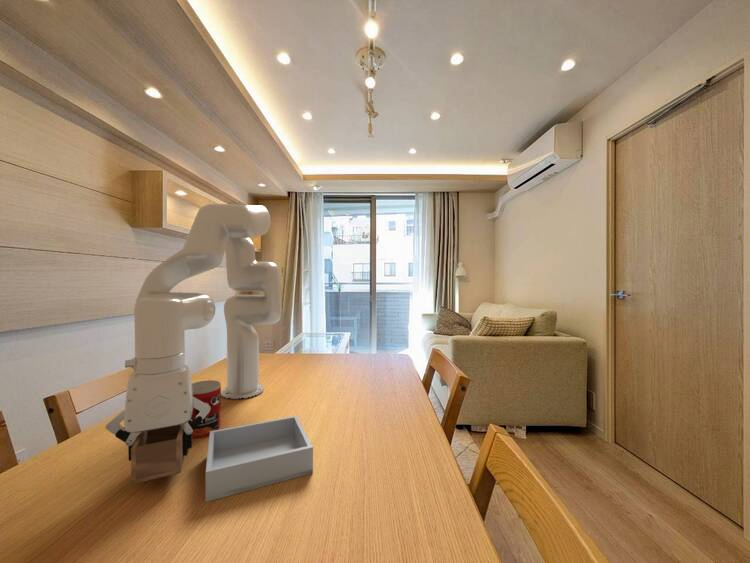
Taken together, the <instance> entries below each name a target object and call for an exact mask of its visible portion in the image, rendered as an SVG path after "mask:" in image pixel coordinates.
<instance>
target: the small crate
mask: <svg viewBox="0 0 750 563" xmlns="http://www.w3.org/2000/svg"><path fill="white" fill-rule="evenodd" d="M183 434H184V430H183V429H182V427H181V426H180V425H177V426H172V427H167V428H161V429H155V430H150V431H144V432H139V434H138V437H137V439H136V441H135V443H134V444H133V446H132V448H131V461H130V463H131V464H130V465H131V468H130V471H131V474H130V476H131V485H135V484H139V483H142V482H147V481H151V480H156V479H161V478H164V477H168V476H172V475H177V474H181V472H182V468H183V463H184V460H185V456H184V455H183Z"/></svg>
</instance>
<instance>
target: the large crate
mask: <svg viewBox="0 0 750 563" xmlns="http://www.w3.org/2000/svg"><path fill="white" fill-rule="evenodd" d="M207 446H208V447H207V448H208V449H207V456H206V465H205V503H207V502H211V501H214V500H218V499H221V498H226V497H229V496H233V495H237V494H241V493H244V492H247V491H248V492H249V491H252V490H256V489H260V488H263V487H266V486H271V485H274V484H277V483H281V482H285V481H286V482H287V481H288V480H293V479H296V478H301V477H304V476H307V475H311V474H313V473H314V446H313V445H312V443H311V440H310V439H309V437H308V435H307V433H306V431H305V428H304V427H303V425H302V423H301V421H300V419H299V417H298V415H293V416H287V417H281V418H277V419H276V418H275V419H271V420H266V421H265V420H264V421H260V422H253V423H248V424H243V425H236V426H232V427H227V428H221V429H220V428H219V429H218V430H215V431H210V435H209V437H208V445H207Z"/></svg>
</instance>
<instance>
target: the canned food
mask: <svg viewBox="0 0 750 563" xmlns="http://www.w3.org/2000/svg"><path fill="white" fill-rule="evenodd" d="M192 389H193V397H195V398H197V399H198V400H200V401H202V402H204V403H205V404H207V405H209V406H210V412H209V413H208V414H207V415H206V417H205V418H204V419H203V420H202V422H201V423H200V424H199V425H198V426H197V427H196V428H195V429H194V430H193V432H192V439H199V438H200V439H201V438H206V437H208V436H210V431H215V430H220V428H221V421H222V420H221V413H222V411H221V408H222V405H221V404H222V403H221V402H222V398H221V397H222V395H221V392H222V384H221V382H220V381H218V380H213V379H212V380H209V379H208V380H201V381H196V382H194V383H193V382H192ZM199 412H200V411H199V410H197V409H195V408H194V407H193V411H192V417H191V420H193V419H194V418H195V417H196V416H197V415H198V414H199Z"/></svg>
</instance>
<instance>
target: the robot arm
mask: <svg viewBox="0 0 750 563" xmlns="http://www.w3.org/2000/svg"><path fill="white" fill-rule="evenodd" d="M271 219H272V218H271V215H270V212H269V210H268V209H267V208H266V206H264V205H258V204H257V205H256V204H235V203H233V204H231V203H230V204H229V203H210V204H209V203H208V204H205V205H203V206H201V207H200V208H199V209H198V211H197V212H196V216H195V217H194V219H193V223H192V225H191V228H190V230H189V232H188V235H187V237H186V239H185V243H184V245H183V246H182V249H180V250H179V251H177V252H175V253H174V254H172V255H171V256H170V257H168V258H166V259H165V260H164V261H162V262H161V263H160V264H158V265H157V266H156V267H155V268H153V269H152V270H151V271H150V272H149V274H148V275H147V276H146V278H145V279H144V282H143V284H142V286H141V288H140V290H139V292H138V294H137V297H136V299H135V304H134V307H133V314H134V315H133V317H134V357H133V358H131V359H127V360H125V362H124V368H125V369H126V368H127V369H128V368H130V369H132V370H133V372H132V373H131V374H130V375H129V377H128V381H127V384H126V385H127V386H126V394H125V401H124V402H125V403H124V405H125V406H124V409H122V410H121V411H120V412H119V413H118V414H117V415H115V416H114V417H113V418H112V419H111V420H109V421H108V422H107V424H106V425H105V428H104V429H105V430H107V431H108V432H110V433H111V434H113V435H115V437H116V439H118V440H120V441H122V442H124V443H125V444H124V445H126V446H127V447H128V448H127V449H128V453H127V454H128V461H129V462H131V448H132V446H133V444H134V443H135V441H136V439H137V437H138V435H139V433H140V432H144V431H150V430H155V429H161V428H167V427H172V426H177V425H180V426H181V427H182V429H183V430H184V434H183V455H184V457H186V456H187V457H188V454H189V449H192V448H193V438H192V432H193V430H194V429H195V428H196V427H197V426H198V425H199V424H200V423H201V422H202V420H203V419H204V418H205V417H206V415H207V414H208V413H209V412H210V406H209V405H207V404H205V403H204V402H202V401H200V400H198V399H197V398H195V397H193V389H192V384H193V382H192V376H191V371H190V368H189V365H186V363H185V361H186V360H185V357H186V354H185V331H186V330H189V331H190V330H198V329H201V328H203V327H206V326H207V325H208V324H210V323H211V322H212V321H213V319H214V318H215V315H216V304H215V302H214V300H213V299H212V298H211V297H210V296H209V295H207V294H205V293H200V292H183V291H182V292H181V291H180V292H175V291H174V292H173V291H172V290H173V288H174V287H176V286H177V285H178V284H180V283H182V282H183V281H185V280H187V279H189V278H192V277H195V276H197V275H201V274H203V273H205V272H209V271H210V270H214V269H216V268H217V267H219V266H220V265H221V264H222V262H223V259H224V256H225V265H226V266H225V267H226V268H225V269H226V278H227V285H228V287H229V288H230V289H231V290H233V291H235V292H236V291H237V292H263V294H237V295H232V296H230V297H228V298H227V299H226V300H225V302H224V304H223V314H224V320H225V325H226V386H225V387H224V388H223V389H221V397H223V398H224V397H225V398H224V399H228V398H231V399H230V400H242V399H241V398H244V399H248V397H249V398H252V396H253V397H256V396H258V395H260V394H261V393H262V392H264V389H265V387H264V385H263V384H262V383H259V381H260V380H259V379H260V378H259V377H260V372H259V371H260V365H259V364H260V337H259V333H258V332H257V331H256V330H257V329H255V327H253V325H275V324H277V323H278V322H279V321H280V320H281V318H282V310H283V309H282V280H281V273H280V269H279V266H278V265H277V264H276V263H275V262H271V261H257V259H256V251H255V250H256V247H255V244H254V242H253V241H252V238H253V239H254V238H257V237H261V236H264V235H266V234H267V233H268V231H269V230H270V227H271V222H272V221H271ZM255 395H256V396H255ZM239 398H240V399H239ZM193 407H194V408H195V409H197V410H199V411H200V412H199V414H198V415H197V416H196V417H195V418H194V419H193V420H191V417H192V411H193ZM122 422H124V423H123V424H124V426H122V424H121V423H122Z"/></svg>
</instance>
